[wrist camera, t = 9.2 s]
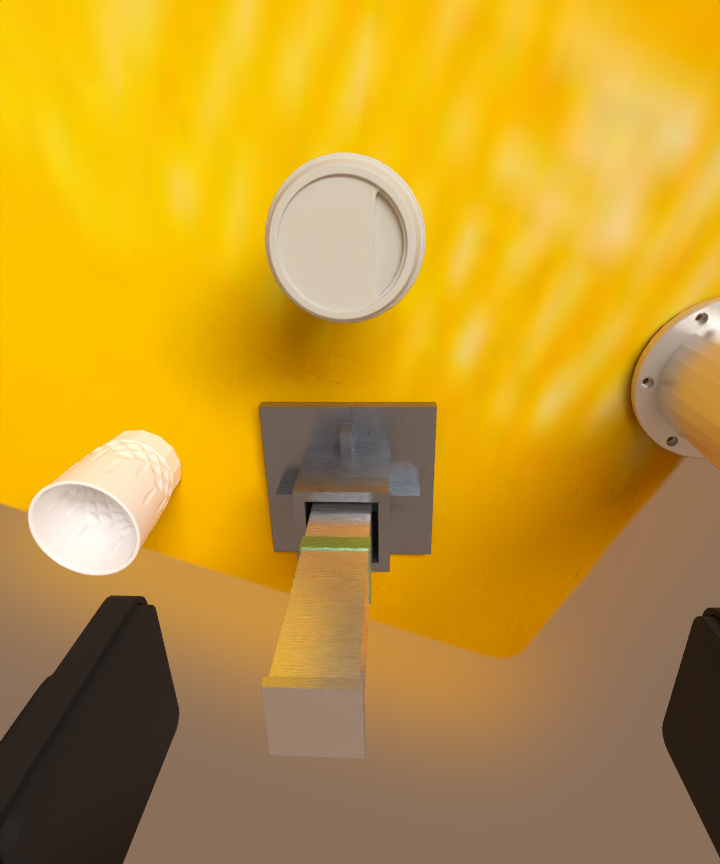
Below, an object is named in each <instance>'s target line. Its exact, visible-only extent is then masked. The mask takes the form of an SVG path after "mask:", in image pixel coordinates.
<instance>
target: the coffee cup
mask: <svg viewBox="0 0 720 864" xmlns="http://www.w3.org/2000/svg"><path fill="white" fill-rule="evenodd" d="M425 241H426V237H425V225H424V220H423V216H422V212H421V209H420V206H419V204H418V202H417V200H416V198H415V196H414V194H413V192H412V191H411V189H410V188H409V186H408V185H407V184H406V182H405V181H404V180H403V179H402V178H401V177H400V176H399V175H398V174H397V173H396V172H395V171H394V170H392V169H391V168H390V167H388V166H387V165H385V164H384V163H382V162H380V161H378V160H376V159H373V158H371V157H368V156H365V155H361V154H356V153H333V154H328V155H324V156H321V157H318V158H315V159H313V160H311V161H309V162H307V163H305V164H304V165H302V166H301V167H299V168H298V169H297V170H295V171H294V172H293V173H292V174H291V175H290V176H289V177H288V178H287V179H286V180H285V182H284V183H283V184H282V186H281V187H280V188H279V190H278V192H277V193H276V195H275V197H274V199H273V202H272V204H271V207H270V210H269V213H268V217H267V222H266V228H265V246H266V253H267V258H268V262H269V265H270V268H271V271H272V273H273V275H274V277H275V279H276V281H277V283H278V284H279V286H280V287H281V289H282V290H283V292H284V293H285V294H286V295H287V296H288V298H290V299H291V300H292V301H293V302H294V303H295V304H296V305H297V306H298V307H300V308H301V309H303V310H304V311H306V312H307V313H309V314H311V315H313V316H315V317H318V318H320V319H323V320H327V321H331V322H338V323H354V322H360V321H365V320H368V319H371V318H374V317H376V316H378V315H380V314H382V313H384V312H386V311H387V310H389V309H390V308H392V307H393V306H394V305H396V304H397V303H398V302H399V301H400V300H401V299H402V298H403V297H404V296H405V295H406V293H407V292H408V291H409V290H410V288H411V287H412V285H413V283H414V282H415V280H416V278H417V276H418V274H419V271H420V268H421V265H422V262H423V258H424V252H425Z"/></svg>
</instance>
